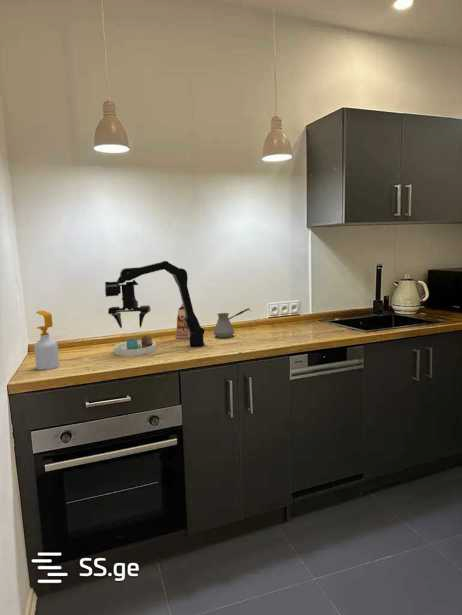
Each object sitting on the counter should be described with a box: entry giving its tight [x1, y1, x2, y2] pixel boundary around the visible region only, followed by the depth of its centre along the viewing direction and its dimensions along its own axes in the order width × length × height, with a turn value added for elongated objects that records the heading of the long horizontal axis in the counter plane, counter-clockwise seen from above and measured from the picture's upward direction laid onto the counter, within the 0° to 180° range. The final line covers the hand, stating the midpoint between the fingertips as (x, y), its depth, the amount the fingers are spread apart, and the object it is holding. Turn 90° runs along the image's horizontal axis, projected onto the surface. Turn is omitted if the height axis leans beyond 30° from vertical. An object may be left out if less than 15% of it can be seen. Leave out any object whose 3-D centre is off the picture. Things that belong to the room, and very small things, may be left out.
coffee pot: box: [213, 307, 251, 339], centre depth 223 cm, size 21×12×15 cm, turn 103°
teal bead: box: [125, 338, 138, 349], centre depth 192 cm, size 5×5×6 cm
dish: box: [113, 340, 158, 357], centre depth 199 cm, size 20×20×3 cm
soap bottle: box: [33, 310, 60, 371], centre depth 173 cm, size 9×9×25 cm
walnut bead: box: [140, 335, 153, 348], centre depth 198 cm, size 5×5×6 cm
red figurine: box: [174, 303, 191, 342], centre depth 219 cm, size 9×9×20 cm
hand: (130, 327), depth 191 cm, fingers open, 9 cm apart
